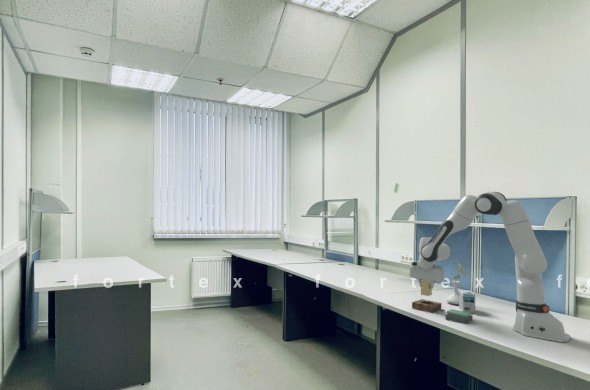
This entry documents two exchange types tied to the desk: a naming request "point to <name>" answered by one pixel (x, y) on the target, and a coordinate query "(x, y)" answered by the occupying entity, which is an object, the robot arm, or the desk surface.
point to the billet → (426, 288)
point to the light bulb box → (467, 301)
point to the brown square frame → (426, 305)
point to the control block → (458, 318)
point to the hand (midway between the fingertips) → (426, 287)
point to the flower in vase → (455, 288)
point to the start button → (459, 313)
